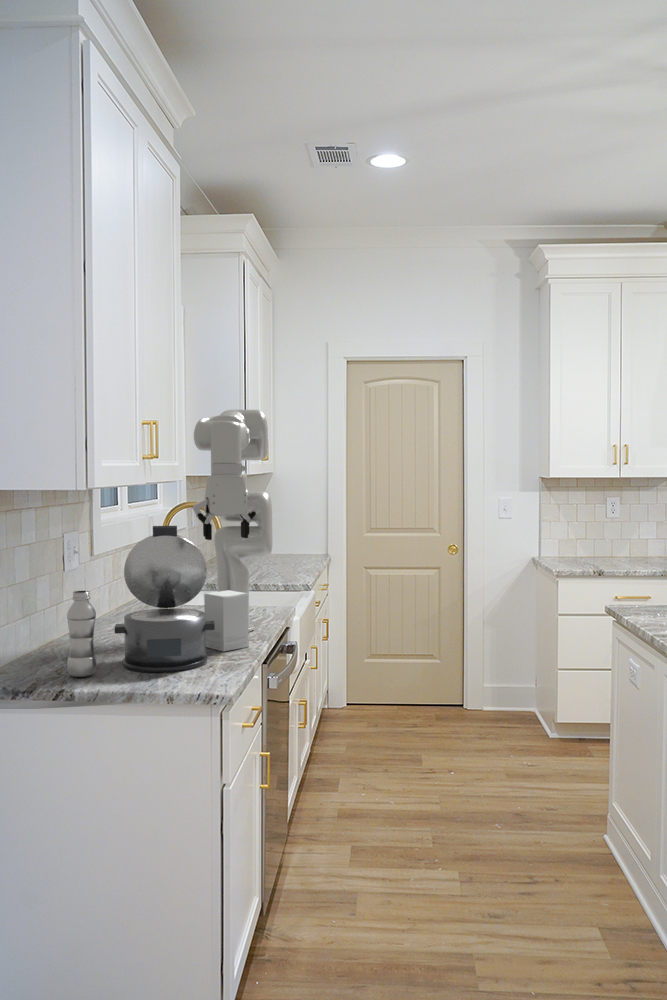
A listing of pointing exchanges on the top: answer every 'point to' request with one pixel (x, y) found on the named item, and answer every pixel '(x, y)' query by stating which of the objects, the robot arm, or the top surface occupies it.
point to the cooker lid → (165, 569)
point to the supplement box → (227, 620)
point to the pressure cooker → (164, 640)
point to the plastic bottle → (81, 636)
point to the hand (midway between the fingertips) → (226, 538)
